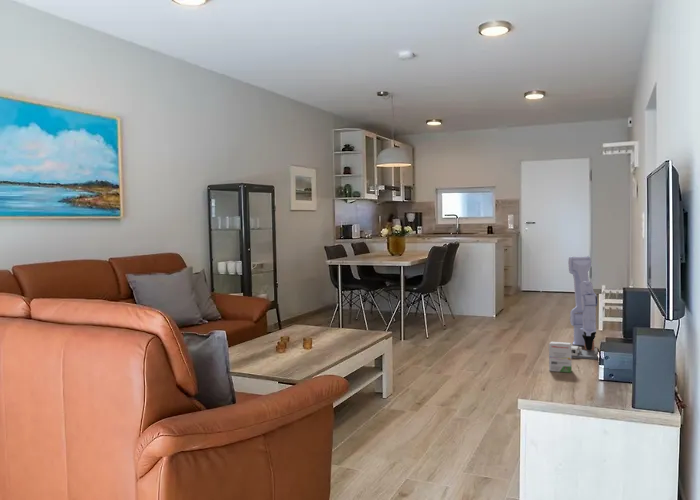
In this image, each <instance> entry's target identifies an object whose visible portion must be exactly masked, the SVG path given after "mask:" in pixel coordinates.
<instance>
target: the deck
mask: <svg viewBox="0 0 700 500" xmlns="http://www.w3.org/2000/svg"><path fill="white" fill-rule="evenodd" d="M597 354H598V355H599V350H598V347H594V350H585V349H583V347H582V346H578V355H577V353H575V352H574V351H573V350H571V359H583V360H584V359H587V360H598V357H597Z"/></svg>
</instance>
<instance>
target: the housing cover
mask: <svg viewBox="0 0 700 500" xmlns="http://www.w3.org/2000/svg"><path fill="white" fill-rule="evenodd" d="M578 349H579V345H572V344H571V350H573V351H574V352H575V353H577V355H578Z"/></svg>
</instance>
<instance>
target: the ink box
mask: <svg viewBox="0 0 700 500" xmlns="http://www.w3.org/2000/svg"><path fill="white" fill-rule="evenodd" d="M571 345H572V342H565V341H564V342H562V341H549V343H548V359H549V361H548V363H549V365H548V371H549V372H557V373H568V374H569V373H570V374H571V373H572V371H573V369H572V367H573V366H572V361H573V360H572V358H571Z"/></svg>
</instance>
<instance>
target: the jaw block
mask: <svg viewBox="0 0 700 500" xmlns="http://www.w3.org/2000/svg"><path fill="white" fill-rule="evenodd" d="M594 348H595V339H594V340H593V345H592V349H591V350H594ZM584 350H587V349H586V345H585V346H584Z"/></svg>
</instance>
